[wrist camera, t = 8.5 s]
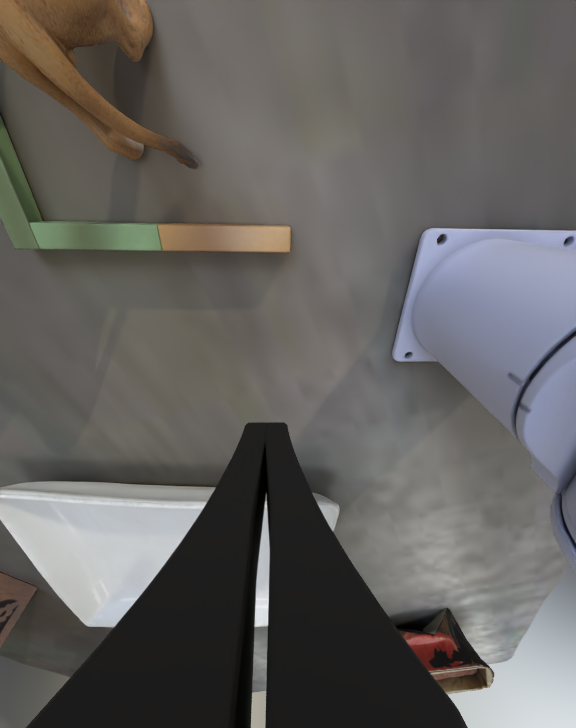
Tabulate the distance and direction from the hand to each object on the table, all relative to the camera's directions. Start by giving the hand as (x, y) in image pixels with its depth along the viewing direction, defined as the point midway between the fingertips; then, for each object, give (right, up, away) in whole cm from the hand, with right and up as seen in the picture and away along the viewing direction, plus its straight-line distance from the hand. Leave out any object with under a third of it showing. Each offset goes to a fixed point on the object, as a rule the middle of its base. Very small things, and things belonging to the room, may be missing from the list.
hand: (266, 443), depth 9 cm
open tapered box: (+23, -43, +38) cm, 61 cm away
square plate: (-10, -17, +21) cm, 29 cm away
